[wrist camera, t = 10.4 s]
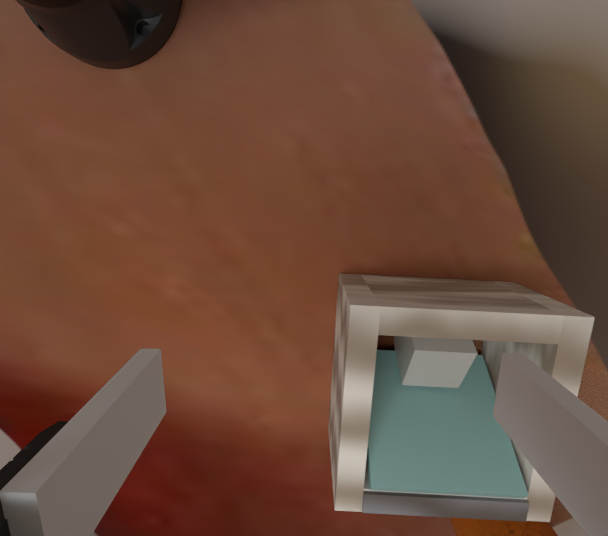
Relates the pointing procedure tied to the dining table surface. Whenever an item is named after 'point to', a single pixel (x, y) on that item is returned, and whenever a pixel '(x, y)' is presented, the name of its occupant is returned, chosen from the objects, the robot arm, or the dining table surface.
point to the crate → (450, 325)
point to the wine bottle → (500, 528)
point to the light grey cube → (433, 360)
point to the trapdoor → (439, 436)
